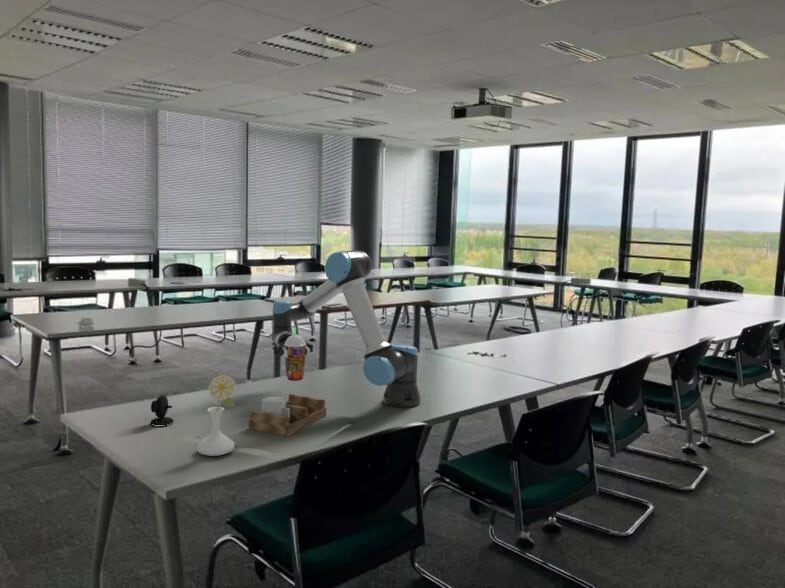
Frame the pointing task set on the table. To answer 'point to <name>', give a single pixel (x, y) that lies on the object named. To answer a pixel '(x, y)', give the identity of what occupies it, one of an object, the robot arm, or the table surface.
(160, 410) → the webcam
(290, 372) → the smoothie
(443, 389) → the table surface
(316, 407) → the rack
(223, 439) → the flower in vase
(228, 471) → the table surface
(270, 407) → the mug
